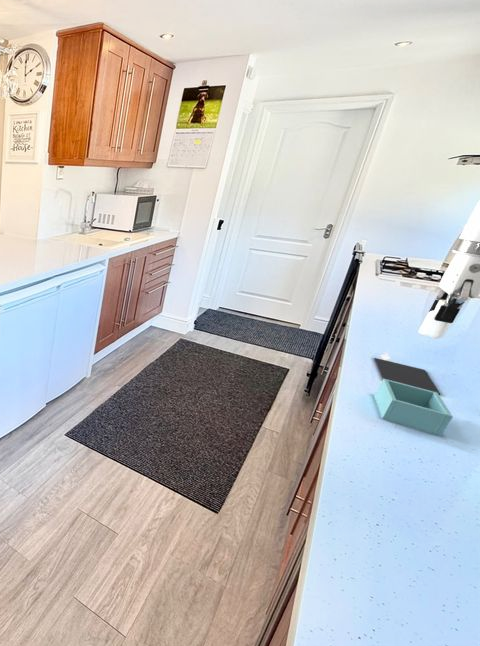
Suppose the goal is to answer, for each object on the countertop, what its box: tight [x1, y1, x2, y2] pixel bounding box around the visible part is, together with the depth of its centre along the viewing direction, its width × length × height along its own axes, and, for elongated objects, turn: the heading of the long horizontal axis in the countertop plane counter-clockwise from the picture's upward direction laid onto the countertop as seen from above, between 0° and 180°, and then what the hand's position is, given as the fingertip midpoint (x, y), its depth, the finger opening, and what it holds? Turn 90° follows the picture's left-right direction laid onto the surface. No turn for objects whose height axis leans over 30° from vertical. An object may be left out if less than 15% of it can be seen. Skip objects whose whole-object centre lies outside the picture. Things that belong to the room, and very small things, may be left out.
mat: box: [373, 357, 441, 396], centre depth 115 cm, size 11×17×1 cm, turn 143°
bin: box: [373, 379, 453, 437], centre depth 95 cm, size 10×13×5 cm
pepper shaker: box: [418, 300, 452, 339], centre depth 104 cm, size 4×4×10 cm
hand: (440, 317), depth 103 cm, fingers closed on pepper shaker, 4 cm apart
